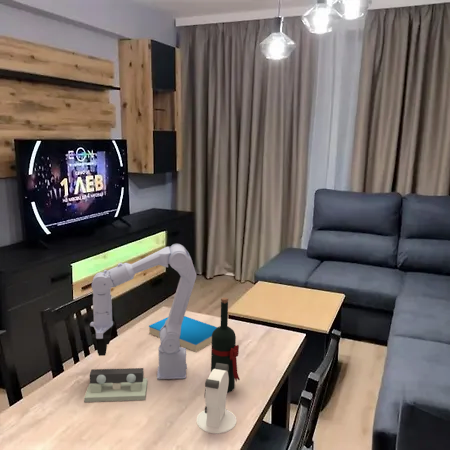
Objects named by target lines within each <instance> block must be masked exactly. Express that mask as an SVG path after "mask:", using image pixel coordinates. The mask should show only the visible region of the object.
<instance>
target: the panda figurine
mask: <svg viewBox="0 0 450 450" xmlns="http://www.w3.org/2000/svg"><path fill="white" fill-rule="evenodd" d="M228 370H229V365H227V364H221V363H216V365H215V369H213V370H212V372H211V371H210V372H209V376H208V378H206V380H205V382H204V386H205V389H204V403H205V407H204V410H202V411H200V412H199V413H198V414H197V416H196V420H195V421H196V424H197V428H199V429H200V430H201V431H203V432H205V433H208V434H214V435H222V434H226V433H228V432H230V431H232V430H233V429H234V428H235V426H236V425H237V417H236V415H235V414H234V413H233V412H232V411H230V410H228V409H226V405H227V394H228V393H227V391H228V384H229V376H228Z"/></svg>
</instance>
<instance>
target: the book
mask: <svg viewBox="0 0 450 450" xmlns="http://www.w3.org/2000/svg"><path fill="white" fill-rule="evenodd" d="M167 319H168V316H167V317H165V318H163V319H161V320H158V321H156V322H154V323H151V324H150V325H148V328H149V331H148V332H149V335H153V336H155V337H157V338H159V339H160V336H159V332H160V329H161V328H162V327H163V326H164V324H165V322H166V320H167ZM217 327H218V326H214V325H212V324H209V323H206V322H203V321H199V320H197V319H195V318H191V317H188V316H185V315H184V318H183V321H182V325H181V333H180V338H179V341H180V347H182V348H186V350H190V351H191V352H192V351H193V352H195V353H197V352H199V351H201V350H202V349H204V348H206V347H208V346H209V345H212V333H213V331H214V330H215V329H216V328H217Z"/></svg>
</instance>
